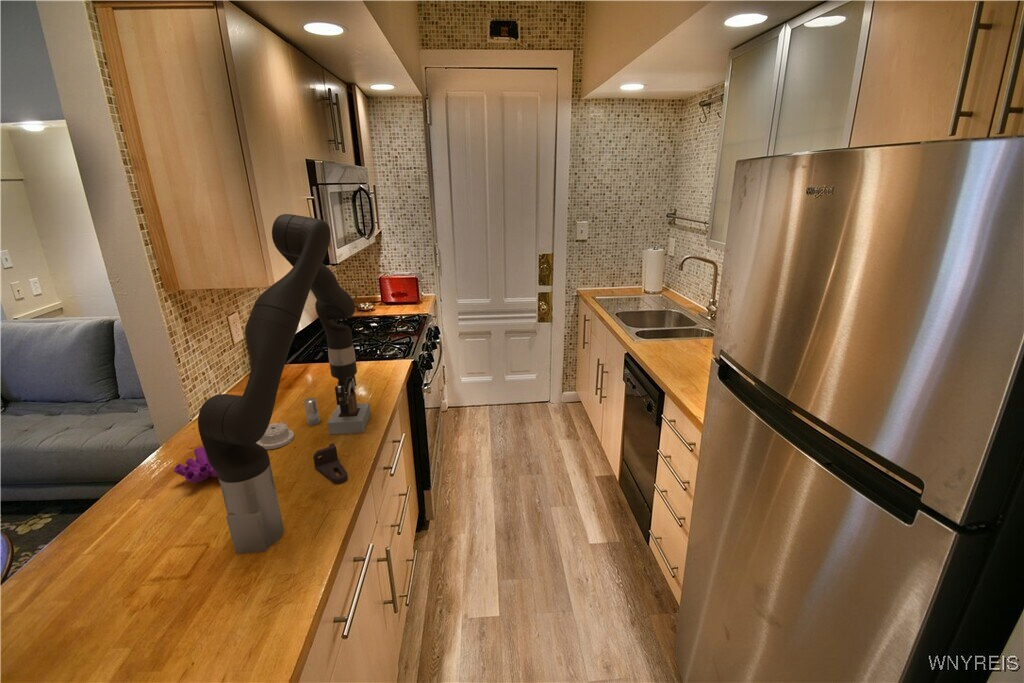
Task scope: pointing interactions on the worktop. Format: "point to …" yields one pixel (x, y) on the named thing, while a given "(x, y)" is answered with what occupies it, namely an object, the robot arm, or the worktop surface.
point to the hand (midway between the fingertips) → (348, 407)
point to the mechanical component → (276, 436)
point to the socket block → (349, 420)
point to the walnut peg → (351, 406)
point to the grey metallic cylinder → (311, 411)
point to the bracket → (330, 464)
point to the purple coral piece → (196, 467)
